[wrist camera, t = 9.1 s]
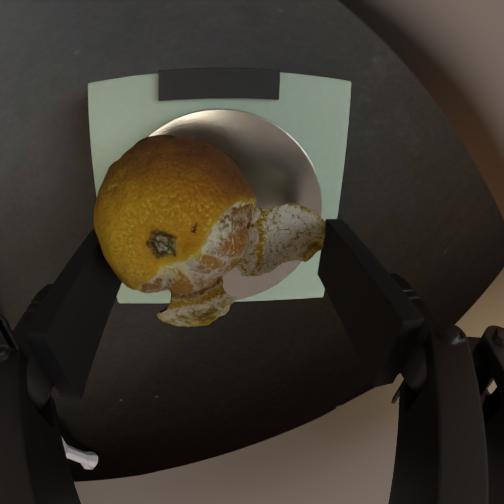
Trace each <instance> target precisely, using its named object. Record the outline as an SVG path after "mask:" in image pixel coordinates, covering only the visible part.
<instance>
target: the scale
mask: <svg viewBox="0 0 504 504" xmlns="http://www.w3.org/2000/svg"><path fill="white" fill-rule="evenodd" d="M350 97H351V81H347V80H341V79H334V78H327V77H320V76H312V75H303V74H293V73H281V72H280V70H273V69H254V68H194V69H175V70H162V71H159V73H155V74H145V75H137V76H129V77H122V78H115V79H109V80H103V81H97V82H92V83H89V84H88V110H89V129H90V143H91V154H92V164H93V173H94V181H95V189H96V196H97V195H98V191H99V188H100V186H101V184H102V182H103V180H104V177H105V175H106V173H107V171H108V168H109V167H110V165H111V164H112V163H114V162H115V161H117V160H119V159H120V158H121V157H122V155H123V154H124V153H125V152H126V151H128V150H129V149H131V148H132V147H133V146H134V145H135V144H136V143H137V142H138V141H139V140H141V139H143V138H146V137H147V136H148V135H149V134H150V133H152V132H153V131H154V130H156V129H157V128H158V127H160V126H161V125H163V124H165V123H167V122H168V121H170V120H172V119H174V118H176V117H179V116H181V115H184V114H187V113H190V112H194V111H198V110H203V109H214V108H225V109H236V110H241V111H246V112H249V113H252V114H255V115H258V116H261V117H263V118H265V119H267V120H269V121H271V122H273V123H275V124H276V125H278V126H279V127H281V128H282V129H283V130H285V131H286V132H287V133H289V134H290V135H291V136H292V137H293V138H294V139H295V140H296V141H297V142H298V143H299V144H300V146H301V147H302V148H303V150H304V151H305V152H306V154H307V155H308V157H309V159H310V161H311V162H312V164H313V166H314V169H315V171H316V174H317V176H318V180H319V184H320V189H321V198H322V211H321V218H322V219H323V220H324V222H325V220H326V219H337V215H338V208H339V201H340V194H341V186H342V178H343V170H344V162H345V153H346V143H347V133H348V122H349V110H350ZM320 254H321V250H319V251H318V252H316V253H315V254H314V256H313V257H312V258H311V259H309V260H308V261H306V262H303V261H302V262H301V263H300V264H299V265H298V267H297V268H296V269H295V270H294V271H293V272H292V273H291V274H289V275H288V276H287V277H286V278H285V279H283V280H282V281H281V282H279V283H278V284H277V285H275V286H273V287H271V288H270V289H268V290H266V291H264V292H261V293H259V294H257V295H254V296H251V297H247V298H244V299H239V300H234V302H241V301H264V300H284V299H302V298H317V297H323V295H324V290H325V288H324V286H323V284H322V282H321V280H320V278H319V276H318V274H317V273H318V266H319V260H320ZM117 299H118V303H170V299H171V292H170V291H169V290H163V291H160V292H153V293H148V294H145V293H142V292H140V291H138V290H132V289H130V288H128V287H127V286H126V285H125V284H124V283H123V282H122V284H121V286H120V289H119V291H118V294H117Z"/></svg>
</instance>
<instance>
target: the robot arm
mask: <svg viewBox="0 0 504 504" xmlns="http://www.w3.org/2000/svg"><path fill="white" fill-rule="evenodd" d="M325 227H326V229H325V239H324V242H323V246H324V247H323V248H322V249H321V254H320V260H319V266H318V273H317V274H318V276H319V278H320V280H321V282H322V284H323V286H324V288H325V290H326V292H327V294H328V296H329V298H330V300H331V302H332V304H333V306H334V308H335V310H336V312H337V314H338V316H339V318H340V320H341V322H342V324H343V326H344V328H345V330H346V332H347V334H348V336H349V338H350V340H351V342H352V344H353V347H354V349H355V351H356V353H357V355H358V357H359V359H360V361H361V363H362V366H363V368H364V370H365V372H366V374H367V376H368V379H369V381H370V383H371V385H372V387H377V386H382V385H386V384H390V383H393V382H394V380H395V378H396V376H397V374H398V373H399V371H400V372H401V374H402V376H403V378H404V381H403V382H402V384H401V385H400V387H399V389H398V390H397V392H396V394H395V395H394V397H393V399H392V403H395V402H396V400H397V399H398V397H399V396H400V399H399V421H398V435H397V446H396V456H395V464H394V472H393V480H392V487H391V493H390V499H389V504H504V328H501V327H499V326H489V327H488V328H487V329H486V330H485V332H484V334H483V335H482V337H481V338H477V337H466V335H465V333H464V332H463V331H462V330H461V329H460V328H459V327H457V326H456V325H454V324H452V323H449V322H439V320H438V319H437V318H436V316H435V315H434V314H433V313H432V311H431V310H430V309H429V308H428V306H427V305H426V304H425V303H424V301H423V300H422V299H421V298H419V295H418V294H417V293H416V292H415V291H414V289H413V288H412V287H411V286H410V284H409V283H408V282H407V281H406V280H404V279H403V278H401V277H400V276H398V275H397V274H389V273H388V272H387V270H386V269H385V268H384V267H383V265H382V264H381V263H380V262H379V261H378V260H377V258H376V257H375V256H374V255H373V254H372V252H371V251H370V250H369V249H368V248H367V247H366V246H365V244H364V243H363V242H362V241H361V240H360V239H359V238H358V236H357V235H356V234H355V233H354V232H353V231H352V230H351V229H350V227H349V226H348V225H347V224H346V223H345V222H344V221H343V220H342V219H326V220H325ZM121 284H122V281H120V280H119V278H118V277H117V275H116V274H115V273H114V271H113V270H112V268H111V267H110V265H109V264H108V262H107V260H106V259H105V257H104V255H103V252H102V249H101V246H100V243H99V239H98V236H97V234H96V232H95V227H94V228H93V230H92V231H91V232H90V234H89V235H88V236H87V238H86V239H85V240H84V241H83V243H82V244H81V245H80V247H79V248H78V249H77V251H76V252H75V254H74V255H73V256H72V258H71V259H70V260H69V262H68V263H67V265H66V266H65V268H64V269H63V270H62V272H61V273H60V275H59V276H58V278H57V279H56V281H55V282H54V284H47V285H46V286H45V287H44V288H42V289H41V290H40V291H39V292H38V293H37V294H36V296H35V297H34V299H33V300H32V302H31V304H30V305H29V306H28V308H27V309H26V310H27V311H26V312H25V313H24V314H23V316H22V317H21V319H20V321H19V322H18V324H17V325H16V327H15V329H14V330H13V331H12V329H11V328H10V326H9V324H8V322H7V319H6V318H5V317H4V316H3V315H0V504H81V503H80V500H79V497H78V494H77V491H76V488H75V485H74V482H73V479H72V475H71V472H70V468H69V465H68V461H67V457H66V453H65V449H64V445H63V441H62V437H61V432H60V427H59V422H58V417H57V411H56V405H55V402H54V400H53V398H52V396H51V395H50V394H51V391H52V388H53V385H54V386H55V388H56V390H57V391H58V393H59V394H60V396H62V397H68V398H75V399H82V395H83V392H84V389H85V385H86V382H87V379H88V375H89V372H90V369H91V366H92V363H93V360H94V357H95V354H96V351H97V348H98V345H99V342H100V339H101V336H102V333H103V331H104V328H105V325H106V322H107V320H108V317H109V314H110V312H111V309H112V306H113V304H114V301H115V299H116V296H117V294H118V291H119V289H120V286H121ZM493 380H494V381H495V383H496V385H497V388H496V389H495V391H494V392H493V393H492V394H490V393H489V392H488V389H487V388H488V387H489V386H490V384H491V383H492V382H493Z"/></svg>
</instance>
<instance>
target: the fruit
mask: <svg viewBox="0 0 504 504" xmlns="http://www.w3.org/2000/svg"><path fill="white" fill-rule="evenodd" d="M256 199H257V197H256V196H255V194H254V192H253V191H252V188H251V184H250V183H249V182H248V180H247V179H246V178H245V176H244V174H243V173H242V172H241V170H240V168H239V167H238V164H237V162H236V160H233V159H232V158H231V157H230V156H229V155H227V154H226V153H224V152H222V151H220V150H219V148H218V147H217V145H214V144H210V143H206V142H203V141H200V140H194V139H191V138H189V137H176V136H172V135H156V136H150V137H146V138H143V139H141V140H139V141H138V142H137V143H136V144H135V145H134V146H133V147H132V148H131V149H129V150H128V151H126V152H125V153H124V154H123V155H122V157H121V158H120V159H119V160H117V161H115V162H114V163H112V164H111V165H110V167H109V168H108V171H107V173H106V175H105V177H104V180H103V182H102V184H101V186H100V188H99V191H98V195H97V199H96V203H95V205H94V227H95V232H96V234H97V236H98V239H99V243H100V246H101V249H102V252H103V255H104V257H105V259H106V260H107V262H108V264H109V265H110V267H111V268H112V270H113V271H114V273H115V274H116V275H117V277H118V278H119V280H120V281H122V282H123V283H124V284H125V285H126V286H127V287H128V288H130V289H132V290H138V291H140V292H142V293H145V294H148V293H153V292H160V291H163V290H169V291H170V292H171V299H170V305H169V307H168V308H165V309H164V310H163V311H160V312H159V313H157V316H158V318H159V319H160V320H161V321H163V322H166V323H169V324H172V325H175V326H180V327H181V326H187V327H190V326H204V325H209V324H210V323H211V322H212V321H214V320H216V319H217V318H219V317H220V316H223V315H225V314H226V313H227V312H228V311H229V308H230V305H231V304H232V303H233V302H234V300H233V298H234V299H236V297H233V296H231V295H228V294H227V293H226V292H225V290H224V288H223V278H222V276H223V275H226V274H227V273H228V272H229V271H231V269H232V268H234V267H237V268H238V269H239V270H240V272H241V276H247V277H250V276H257V277H258V276H260V275H262V274H264V273H270V272H271V271H273V270H274V269H275V268H276V267H278V266H279V265H280V264H282V263H285V262H287V261H295V260H298V261H303V262H306V261H308V260H309V259H311V258H312V257H313V256H314V254H315V253H316V252H318V251H319V250H321V249H322V248H323V247H324V246H323V242H324V239H325V229H326V227H325V222H324V220H323V219H322V218H321V216H319V215H318V214H317V213H316V212H314V211H313V210H311V209H308V208H306V207H304V206H302V205H299V204H295V203H289V202H288V203H287V204H286V205H281V206H277V207H276V208H274V209H270V210H268V209H262V208H258V207H256V202H257V200H256Z"/></svg>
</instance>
